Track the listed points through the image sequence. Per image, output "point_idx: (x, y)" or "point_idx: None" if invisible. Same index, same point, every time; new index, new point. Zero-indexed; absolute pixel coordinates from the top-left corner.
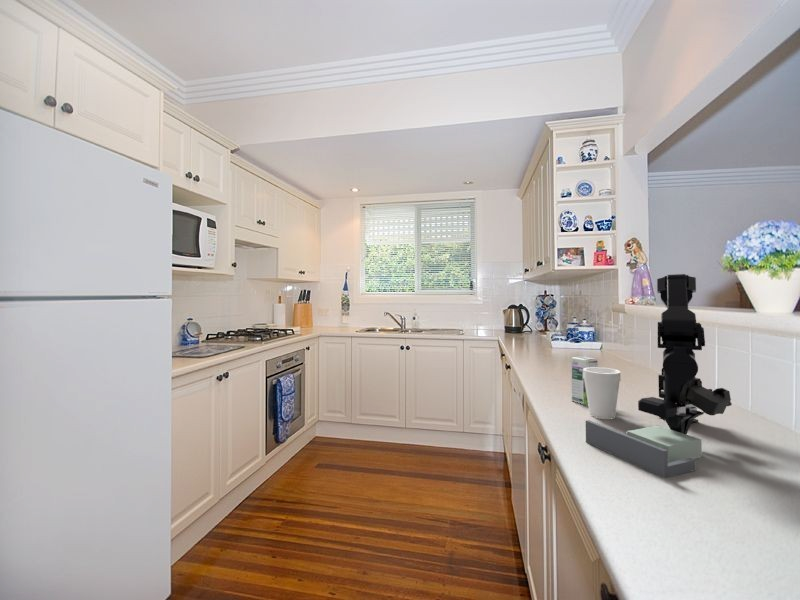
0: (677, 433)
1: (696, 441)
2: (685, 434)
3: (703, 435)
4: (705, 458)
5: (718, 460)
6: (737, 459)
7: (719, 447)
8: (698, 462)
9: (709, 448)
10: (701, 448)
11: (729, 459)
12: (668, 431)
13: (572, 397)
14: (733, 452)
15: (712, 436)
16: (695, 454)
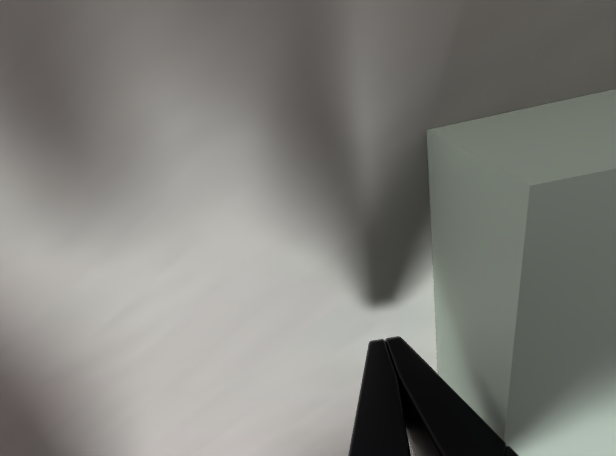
0: (573, 386)
1: None
2: (518, 356)
3: (57, 425)
4: (434, 89)
5: (357, 22)
6: (132, 9)
7: (94, 266)
8: (606, 13)
9: (195, 261)
10: (466, 146)
11: (219, 25)
12: (596, 432)
13: None
14: (45, 167)
15: (3, 410)
16: (540, 115)
